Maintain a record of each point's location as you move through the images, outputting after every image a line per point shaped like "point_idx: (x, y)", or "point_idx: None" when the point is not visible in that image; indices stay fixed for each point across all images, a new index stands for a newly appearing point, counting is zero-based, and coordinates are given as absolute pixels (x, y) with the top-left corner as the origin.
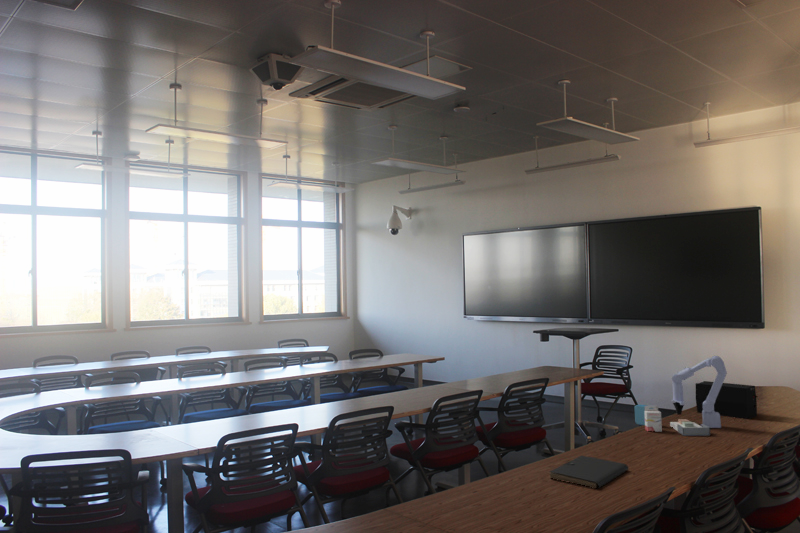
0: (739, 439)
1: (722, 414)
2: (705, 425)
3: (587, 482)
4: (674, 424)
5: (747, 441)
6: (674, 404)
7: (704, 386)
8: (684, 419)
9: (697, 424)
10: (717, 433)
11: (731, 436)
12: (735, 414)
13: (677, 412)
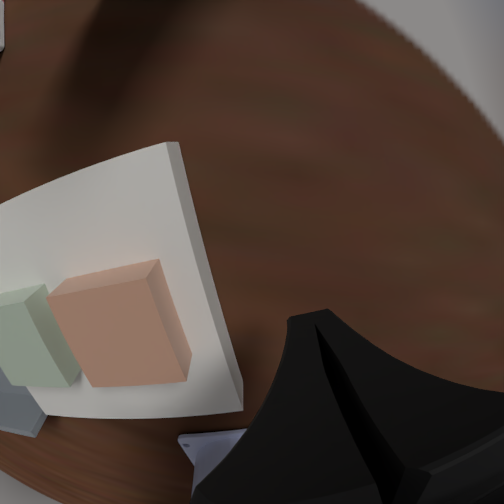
0: (15, 458)
1: None
2: (7, 430)
3: None
4: (34, 198)
5: (7, 463)
6: (345, 472)
7: None
8: (158, 356)
9: (130, 416)
10: (61, 440)
11: (41, 460)
12: None
13: (286, 339)
